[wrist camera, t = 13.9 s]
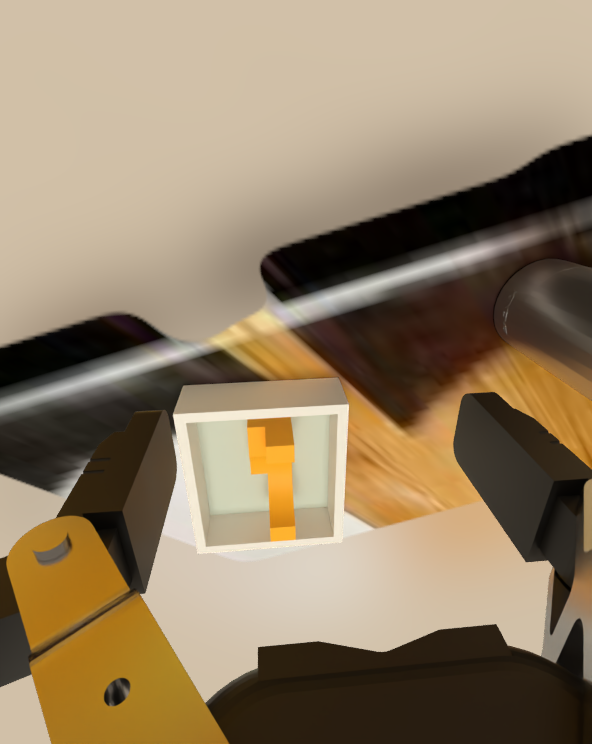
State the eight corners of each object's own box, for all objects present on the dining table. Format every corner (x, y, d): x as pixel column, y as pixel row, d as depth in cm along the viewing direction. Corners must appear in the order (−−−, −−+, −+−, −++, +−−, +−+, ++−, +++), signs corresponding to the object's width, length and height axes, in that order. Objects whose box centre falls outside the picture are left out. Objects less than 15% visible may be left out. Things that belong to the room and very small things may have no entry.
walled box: (338, 377, 42) (348, 404, 37) (334, 506, 50) (342, 542, 45) (183, 385, 41) (173, 414, 36) (203, 515, 49) (197, 554, 44)
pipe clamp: (247, 410, 42) (246, 448, 36) (289, 408, 42) (294, 445, 37) (254, 497, 47) (253, 543, 42) (291, 495, 48) (295, 539, 42)
